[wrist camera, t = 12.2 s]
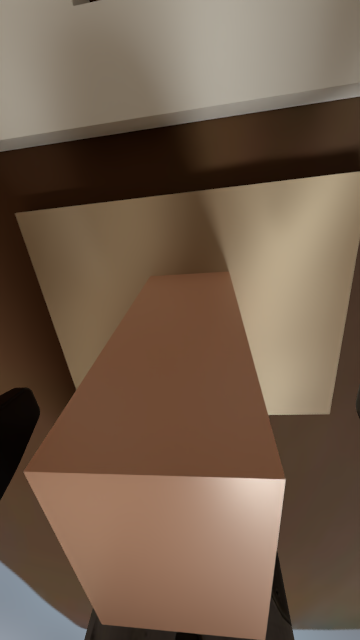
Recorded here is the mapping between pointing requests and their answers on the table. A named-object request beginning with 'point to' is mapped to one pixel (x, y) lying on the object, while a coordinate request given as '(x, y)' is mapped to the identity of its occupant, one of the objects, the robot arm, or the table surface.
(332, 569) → the table surface
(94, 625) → the electronic device
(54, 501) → the plug
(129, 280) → the pad
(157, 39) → the white slotted plate
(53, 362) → the table surface
